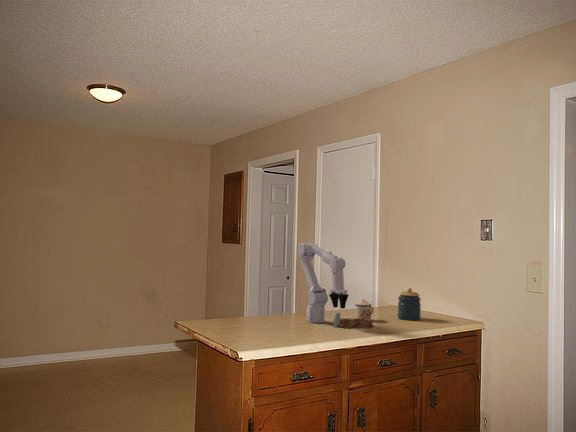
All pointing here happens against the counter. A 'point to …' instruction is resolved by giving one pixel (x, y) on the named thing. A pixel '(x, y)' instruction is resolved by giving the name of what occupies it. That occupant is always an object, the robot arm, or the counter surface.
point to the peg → (336, 320)
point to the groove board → (355, 322)
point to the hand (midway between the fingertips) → (339, 307)
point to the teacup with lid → (363, 310)
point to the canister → (409, 305)
